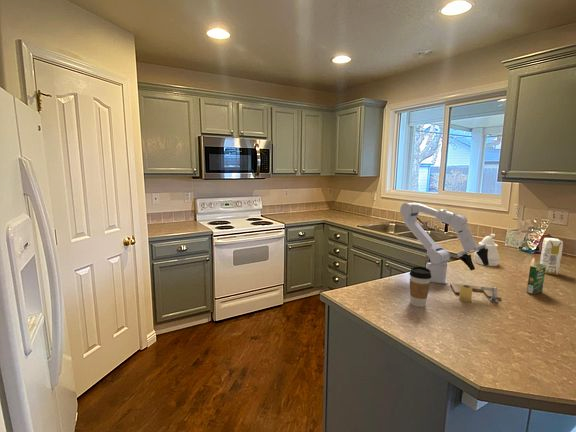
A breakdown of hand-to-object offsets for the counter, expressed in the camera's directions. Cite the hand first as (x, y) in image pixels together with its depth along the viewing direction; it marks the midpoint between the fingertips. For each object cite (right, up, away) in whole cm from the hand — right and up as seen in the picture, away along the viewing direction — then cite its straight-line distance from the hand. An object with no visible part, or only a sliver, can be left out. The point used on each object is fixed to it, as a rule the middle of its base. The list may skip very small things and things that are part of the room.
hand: (479, 267), depth 144 cm
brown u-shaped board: (-2, -12, +2) cm, 12 cm away
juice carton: (+59, -8, +34) cm, 68 cm away
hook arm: (-1, -13, -7) cm, 15 cm away
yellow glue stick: (-11, -13, -7) cm, 18 cm away
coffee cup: (-33, -13, -13) cm, 38 cm away
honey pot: (+33, -5, +50) cm, 60 cm away
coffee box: (+27, -12, +3) cm, 30 cm away
